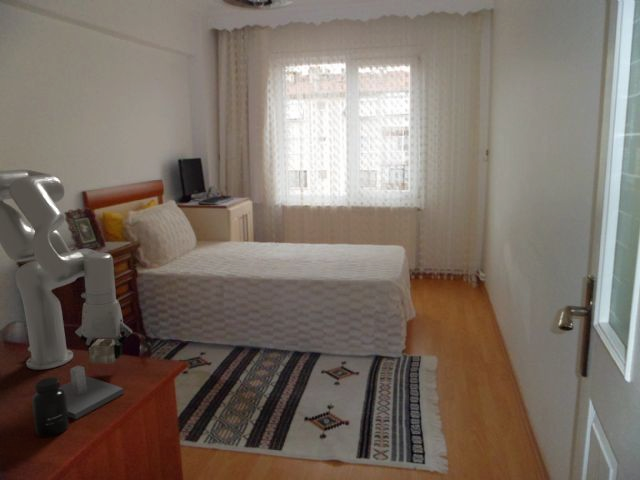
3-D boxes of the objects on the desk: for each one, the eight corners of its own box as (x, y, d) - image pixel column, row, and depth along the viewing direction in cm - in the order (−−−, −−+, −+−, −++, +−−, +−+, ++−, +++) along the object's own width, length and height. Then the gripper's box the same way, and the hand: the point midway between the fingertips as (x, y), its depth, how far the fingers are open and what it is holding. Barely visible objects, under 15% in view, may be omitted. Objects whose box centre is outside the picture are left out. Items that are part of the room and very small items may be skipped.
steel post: (73, 394, 127) (69, 369, 125) (81, 390, 129) (78, 365, 127) (79, 396, 126) (75, 371, 124) (87, 392, 128) (84, 367, 126)
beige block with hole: (89, 363, 137) (88, 347, 136) (99, 353, 144) (98, 338, 143) (112, 363, 138) (111, 348, 136) (121, 353, 144) (120, 338, 143)
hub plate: (36, 403, 125) (35, 398, 125) (85, 380, 137) (84, 375, 137) (75, 419, 118) (74, 414, 117) (123, 393, 130) (123, 388, 129)
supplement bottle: (55, 439, 110) (48, 390, 108) (29, 436, 111) (21, 388, 109) (76, 422, 117) (70, 376, 114) (51, 419, 118) (44, 373, 116)
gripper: (63, 301, 133) (69, 362, 137) (127, 302, 133) (131, 362, 137) (76, 292, 140) (81, 350, 144) (137, 293, 140) (140, 351, 144)
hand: (105, 355), depth 140 cm, fingers closed on beige block with hole, 6 cm apart
